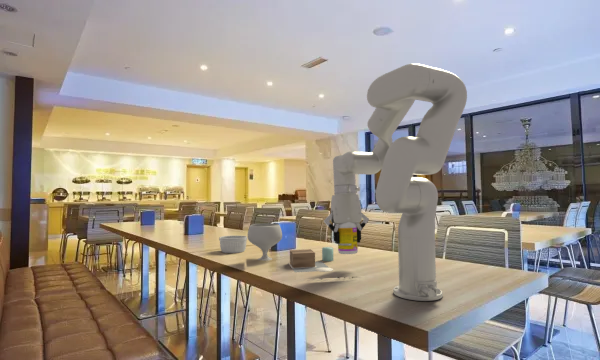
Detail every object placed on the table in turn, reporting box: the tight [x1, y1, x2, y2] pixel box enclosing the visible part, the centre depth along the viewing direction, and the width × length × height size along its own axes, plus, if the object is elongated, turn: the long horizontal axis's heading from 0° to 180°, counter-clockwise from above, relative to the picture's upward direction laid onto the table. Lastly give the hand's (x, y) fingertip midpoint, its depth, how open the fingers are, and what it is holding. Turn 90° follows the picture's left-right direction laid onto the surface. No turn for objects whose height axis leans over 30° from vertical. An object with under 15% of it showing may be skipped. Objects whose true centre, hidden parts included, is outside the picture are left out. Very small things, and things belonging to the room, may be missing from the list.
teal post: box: [321, 246, 334, 262], centre depth 137 cm, size 4×4×6 cm
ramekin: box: [218, 235, 248, 254], centre depth 169 cm, size 13×13×7 cm
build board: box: [288, 261, 334, 273], centre depth 125 cm, size 17×14×1 cm
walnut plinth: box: [289, 248, 316, 268], centre depth 129 cm, size 8×8×5 cm
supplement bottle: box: [337, 218, 359, 255], centre depth 121 cm, size 7×7×13 cm
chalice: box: [247, 223, 283, 262], centre depth 141 cm, size 14×14×15 cm
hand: (347, 242), depth 120 cm, fingers closed on supplement bottle, 6 cm apart
